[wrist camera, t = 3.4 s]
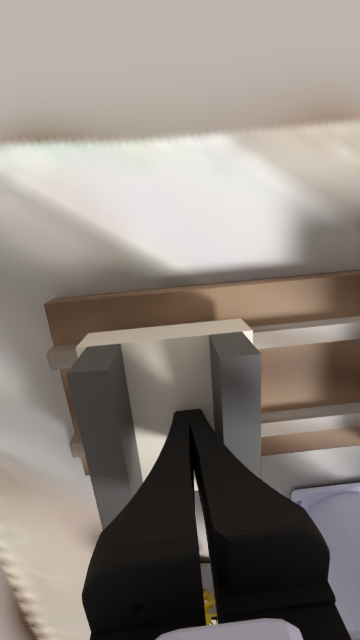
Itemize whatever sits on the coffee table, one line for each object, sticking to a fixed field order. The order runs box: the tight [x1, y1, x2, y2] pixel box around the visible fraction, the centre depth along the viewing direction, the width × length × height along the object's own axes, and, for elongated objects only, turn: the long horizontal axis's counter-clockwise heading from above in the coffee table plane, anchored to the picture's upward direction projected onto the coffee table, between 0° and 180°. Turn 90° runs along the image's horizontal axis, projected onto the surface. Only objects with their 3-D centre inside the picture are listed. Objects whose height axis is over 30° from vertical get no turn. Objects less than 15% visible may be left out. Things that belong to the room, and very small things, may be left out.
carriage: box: [66, 318, 261, 530], centre depth 13 cm, size 9×8×4 cm
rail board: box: [44, 270, 360, 475], centre depth 14 cm, size 12×26×7 cm, turn 95°
